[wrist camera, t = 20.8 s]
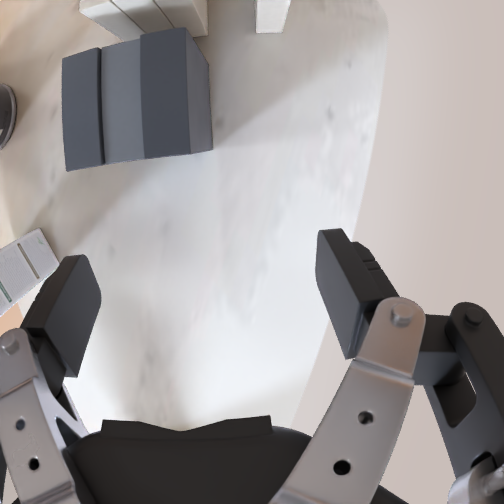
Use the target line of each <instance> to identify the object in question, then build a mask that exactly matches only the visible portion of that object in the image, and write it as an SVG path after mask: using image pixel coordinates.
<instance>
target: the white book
mask: <svg viewBox="0 0 504 504" xmlns="http://www.w3.org/2000/svg"><path fill="white" fill-rule="evenodd" d="M290 3H291V0H254V8H255V23H256V33H282V32H283V28H284V24H285V21H286V17H287V14H288V10H289V6H290Z"/></svg>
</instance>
